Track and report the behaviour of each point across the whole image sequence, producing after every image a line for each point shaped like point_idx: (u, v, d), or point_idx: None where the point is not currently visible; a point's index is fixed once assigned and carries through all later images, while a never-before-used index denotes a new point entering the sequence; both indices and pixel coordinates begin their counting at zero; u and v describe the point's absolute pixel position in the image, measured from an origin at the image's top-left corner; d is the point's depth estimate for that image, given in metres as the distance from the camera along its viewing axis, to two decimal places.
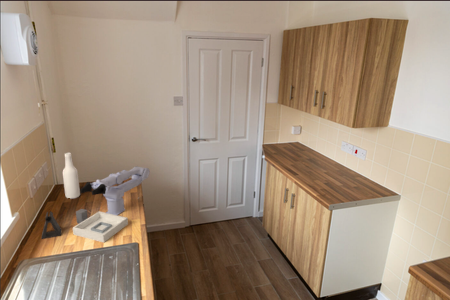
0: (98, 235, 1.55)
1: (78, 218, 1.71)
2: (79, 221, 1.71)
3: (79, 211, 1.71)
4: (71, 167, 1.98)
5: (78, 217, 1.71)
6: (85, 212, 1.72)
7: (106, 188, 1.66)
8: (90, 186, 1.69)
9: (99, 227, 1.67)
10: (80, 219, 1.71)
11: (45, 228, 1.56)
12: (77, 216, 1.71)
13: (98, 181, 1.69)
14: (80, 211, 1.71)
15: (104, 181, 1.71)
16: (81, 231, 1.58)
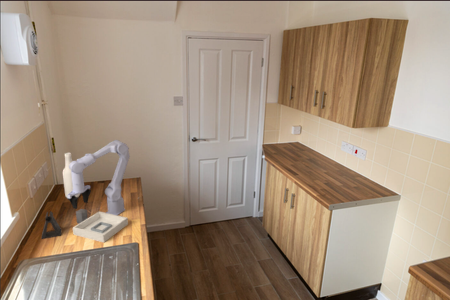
0: (98, 235, 1.55)
1: (78, 218, 1.71)
2: (79, 221, 1.71)
3: (79, 211, 1.71)
4: None
5: (78, 217, 1.71)
6: (85, 212, 1.72)
7: None
8: (84, 191, 1.72)
9: (99, 227, 1.67)
10: (80, 219, 1.71)
11: (45, 228, 1.56)
12: (77, 216, 1.71)
13: None
14: (80, 211, 1.71)
15: None
16: (81, 231, 1.58)
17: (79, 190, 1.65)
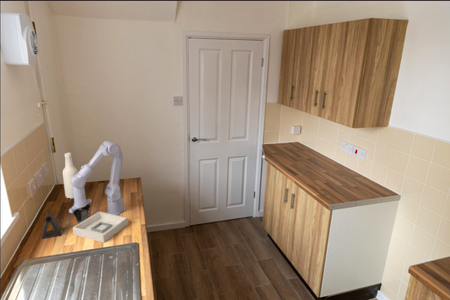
0: (98, 235, 1.55)
1: None
2: (79, 221, 1.71)
3: None
4: (71, 167, 1.98)
5: None
6: (85, 212, 1.72)
7: None
8: (83, 206, 1.73)
9: (99, 227, 1.67)
10: None
11: (45, 228, 1.56)
12: None
13: None
14: None
15: None
16: (81, 231, 1.58)
17: (81, 204, 1.68)
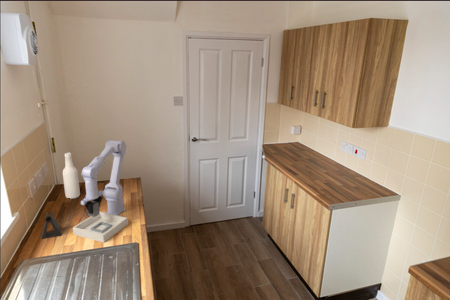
0: (98, 235, 1.55)
1: None
2: None
3: None
4: (71, 167, 1.98)
5: None
6: (97, 204, 1.65)
7: None
8: (95, 198, 1.66)
9: (99, 227, 1.67)
10: None
11: (45, 228, 1.56)
12: None
13: None
14: None
15: (86, 192, 1.62)
16: (81, 231, 1.58)
17: (93, 196, 1.61)
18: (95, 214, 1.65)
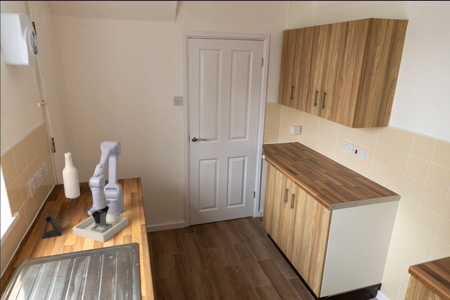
0: (98, 235, 1.55)
1: None
2: (97, 223, 1.64)
3: None
4: (71, 167, 1.98)
5: None
6: (104, 214, 1.65)
7: None
8: None
9: (99, 227, 1.67)
10: None
11: (45, 228, 1.56)
12: None
13: None
14: None
15: (93, 201, 1.61)
16: (81, 231, 1.58)
17: (100, 206, 1.60)
18: (102, 224, 1.64)
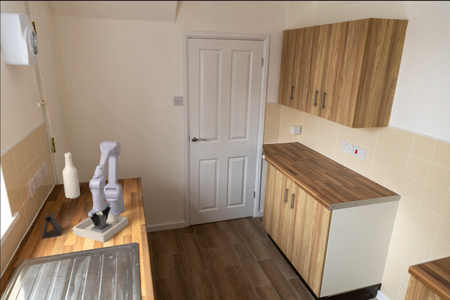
0: (98, 235, 1.55)
1: None
2: (98, 227, 1.65)
3: None
4: (71, 167, 1.98)
5: None
6: (104, 218, 1.65)
7: None
8: None
9: None
10: (99, 225, 1.64)
11: (45, 228, 1.56)
12: None
13: None
14: (99, 216, 1.65)
15: (93, 203, 1.62)
16: (81, 231, 1.58)
17: (100, 208, 1.61)
18: (102, 228, 1.65)
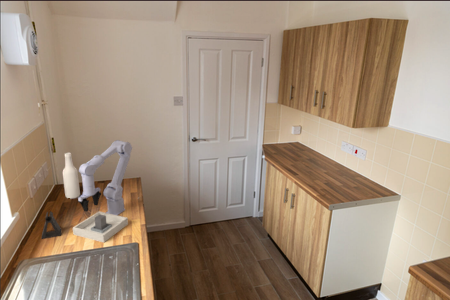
0: (98, 235, 1.55)
1: (97, 224, 1.64)
2: (98, 227, 1.65)
3: (98, 217, 1.64)
4: (71, 167, 1.98)
5: (97, 223, 1.64)
6: (104, 218, 1.65)
7: None
8: None
9: None
10: (99, 225, 1.64)
11: (45, 228, 1.56)
12: (96, 222, 1.64)
13: None
14: (99, 216, 1.65)
15: (83, 189, 1.66)
16: (81, 231, 1.58)
17: (90, 193, 1.65)
18: (102, 228, 1.65)
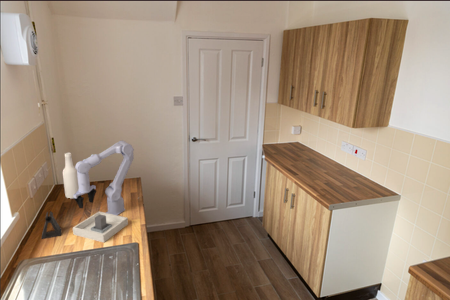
0: (98, 235, 1.55)
1: (97, 224, 1.64)
2: (98, 227, 1.65)
3: (98, 217, 1.64)
4: (71, 167, 1.98)
5: (97, 223, 1.64)
6: (104, 218, 1.65)
7: None
8: (89, 191, 1.75)
9: None
10: (99, 225, 1.64)
11: (45, 228, 1.56)
12: (96, 222, 1.64)
13: None
14: (99, 216, 1.65)
15: None
16: (81, 231, 1.58)
17: (85, 190, 1.68)
18: (102, 228, 1.65)
